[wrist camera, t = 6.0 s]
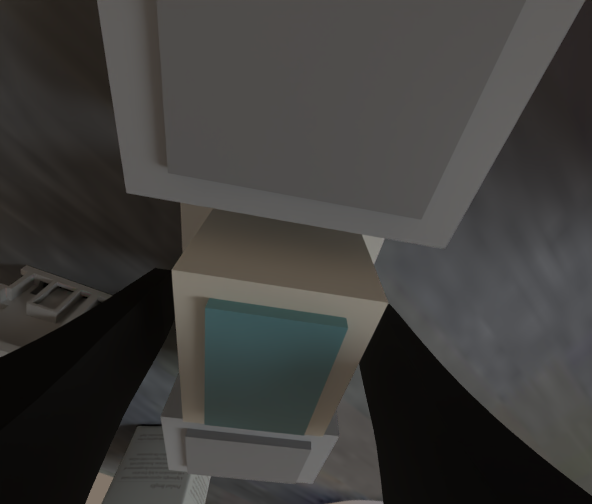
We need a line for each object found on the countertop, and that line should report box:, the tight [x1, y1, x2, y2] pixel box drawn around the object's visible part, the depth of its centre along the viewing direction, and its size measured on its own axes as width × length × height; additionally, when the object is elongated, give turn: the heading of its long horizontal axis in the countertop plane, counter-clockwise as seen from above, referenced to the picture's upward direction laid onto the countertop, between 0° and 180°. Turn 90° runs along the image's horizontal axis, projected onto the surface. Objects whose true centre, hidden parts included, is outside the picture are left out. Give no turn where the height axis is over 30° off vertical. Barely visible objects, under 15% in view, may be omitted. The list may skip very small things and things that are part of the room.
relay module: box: [172, 208, 388, 437], centre depth 10 cm, size 4×6×6 cm
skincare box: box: [102, 426, 211, 504], centre depth 22 cm, size 6×6×7 cm
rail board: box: [97, 0, 585, 484], centre depth 11 cm, size 9×20×7 cm, turn 169°
